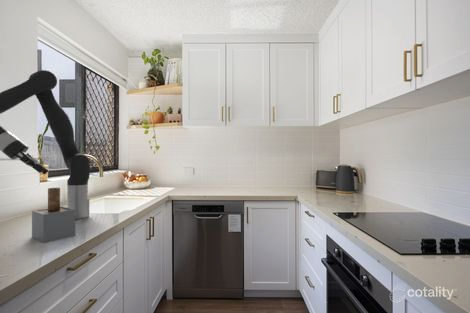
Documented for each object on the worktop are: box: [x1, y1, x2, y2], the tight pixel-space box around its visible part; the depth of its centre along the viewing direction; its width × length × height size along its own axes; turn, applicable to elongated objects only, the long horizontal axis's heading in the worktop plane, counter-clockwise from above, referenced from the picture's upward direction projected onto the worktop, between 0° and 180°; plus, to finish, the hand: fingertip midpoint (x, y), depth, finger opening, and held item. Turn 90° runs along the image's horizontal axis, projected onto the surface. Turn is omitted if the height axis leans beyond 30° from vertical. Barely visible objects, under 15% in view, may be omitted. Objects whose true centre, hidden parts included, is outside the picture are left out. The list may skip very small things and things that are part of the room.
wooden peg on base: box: [39, 187, 67, 214], centre depth 104 cm, size 8×8×10 cm
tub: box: [31, 206, 76, 244], centre depth 104 cm, size 11×11×10 cm
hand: (44, 172), depth 111 cm, fingers open, 8 cm apart
